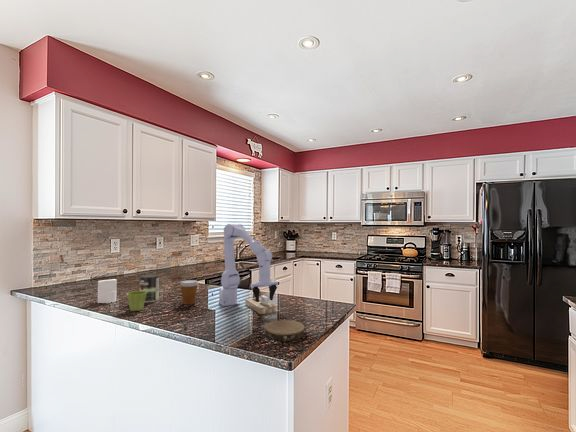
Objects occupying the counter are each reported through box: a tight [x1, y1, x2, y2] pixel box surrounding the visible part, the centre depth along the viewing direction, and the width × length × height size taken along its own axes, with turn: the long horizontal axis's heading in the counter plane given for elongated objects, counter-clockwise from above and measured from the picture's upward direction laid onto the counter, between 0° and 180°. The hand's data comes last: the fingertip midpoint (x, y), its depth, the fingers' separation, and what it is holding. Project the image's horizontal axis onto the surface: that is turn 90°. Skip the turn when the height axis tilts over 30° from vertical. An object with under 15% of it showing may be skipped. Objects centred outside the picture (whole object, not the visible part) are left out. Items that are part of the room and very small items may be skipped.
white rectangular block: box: [97, 278, 118, 304], centre depth 168 cm, size 9×9×12 cm
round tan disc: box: [264, 319, 305, 342], centre depth 120 cm, size 16×16×3 cm
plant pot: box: [126, 290, 147, 312], centre depth 152 cm, size 9×9×9 cm
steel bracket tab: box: [260, 295, 269, 307], centre depth 152 cm, size 2×5×7 cm, turn 29°
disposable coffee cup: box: [179, 279, 199, 305], centre depth 166 cm, size 10×10×12 cm
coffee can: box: [138, 273, 160, 304], centre depth 171 cm, size 10×10×14 cm
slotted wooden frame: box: [244, 296, 278, 315], centre depth 156 cm, size 9×20×3 cm, turn 29°
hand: (264, 300), depth 152 cm, fingers open, 7 cm apart
